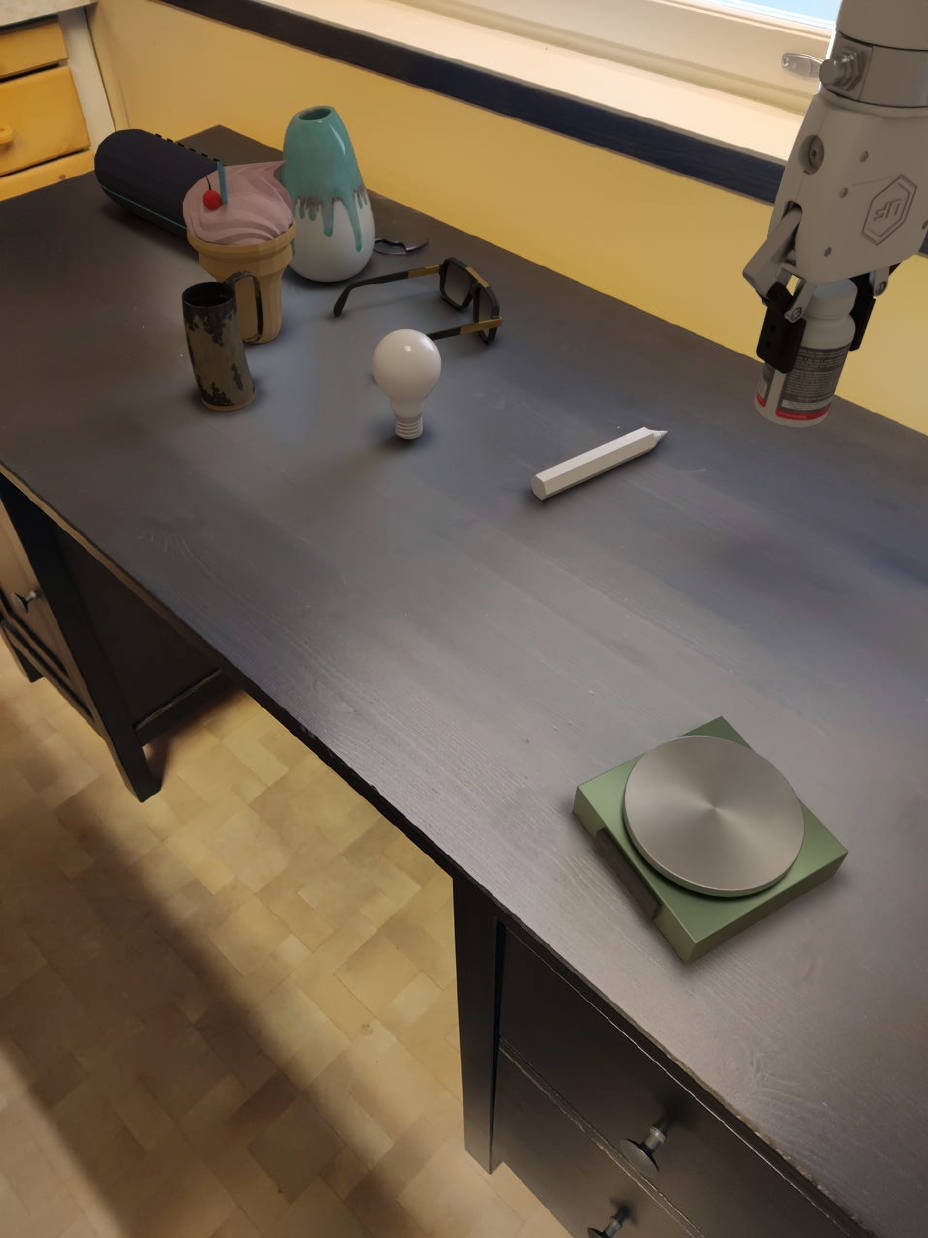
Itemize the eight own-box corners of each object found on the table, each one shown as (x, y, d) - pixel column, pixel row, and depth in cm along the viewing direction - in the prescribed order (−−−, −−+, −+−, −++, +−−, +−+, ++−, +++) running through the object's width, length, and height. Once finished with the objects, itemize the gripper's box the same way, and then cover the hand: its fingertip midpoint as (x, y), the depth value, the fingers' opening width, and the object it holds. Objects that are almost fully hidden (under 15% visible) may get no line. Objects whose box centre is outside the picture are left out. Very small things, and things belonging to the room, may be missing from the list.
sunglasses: (333, 316, 106) (329, 274, 102) (453, 289, 110) (454, 248, 107) (380, 378, 97) (378, 334, 93) (509, 345, 102) (511, 303, 98)
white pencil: (666, 445, 91) (538, 503, 84) (655, 427, 91) (527, 483, 85) (680, 432, 89) (550, 491, 82) (669, 414, 89) (538, 470, 82)
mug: (214, 418, 92) (189, 305, 83) (190, 392, 95) (164, 281, 86) (285, 392, 95) (269, 281, 86) (260, 368, 98) (241, 258, 89)
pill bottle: (840, 410, 69) (884, 286, 62) (801, 438, 67) (841, 313, 60) (779, 381, 72) (814, 259, 65) (738, 408, 70) (770, 283, 62)
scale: (712, 739, 66) (721, 714, 64) (834, 875, 59) (849, 852, 57) (566, 813, 62) (570, 789, 59) (679, 969, 55) (689, 948, 52)
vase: (263, 281, 111) (239, 120, 98) (311, 241, 118) (294, 86, 105) (350, 300, 108) (336, 137, 95) (393, 258, 115) (386, 101, 102)
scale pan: (721, 718, 63) (724, 711, 62) (839, 845, 56) (843, 839, 56) (588, 785, 59) (589, 778, 59) (698, 929, 53) (700, 923, 52)
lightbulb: (411, 409, 93) (407, 308, 85) (455, 436, 90) (456, 334, 82) (362, 435, 90) (354, 332, 82) (406, 464, 87) (402, 361, 79)
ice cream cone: (318, 350, 101) (296, 157, 86) (216, 367, 98) (176, 171, 84) (296, 302, 108) (272, 116, 93) (201, 317, 105) (161, 128, 91)
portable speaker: (278, 246, 117) (267, 163, 110) (215, 273, 112) (199, 189, 105) (159, 189, 129) (141, 111, 121) (96, 212, 123) (74, 132, 116)
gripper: (827, 112, 48) (747, 411, 61) (1049, 64, 54) (933, 348, 67) (732, 72, 52) (677, 358, 66) (947, 31, 58) (857, 302, 71)
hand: (807, 350), depth 66 cm, fingers closed on pill bottle, 5 cm apart
